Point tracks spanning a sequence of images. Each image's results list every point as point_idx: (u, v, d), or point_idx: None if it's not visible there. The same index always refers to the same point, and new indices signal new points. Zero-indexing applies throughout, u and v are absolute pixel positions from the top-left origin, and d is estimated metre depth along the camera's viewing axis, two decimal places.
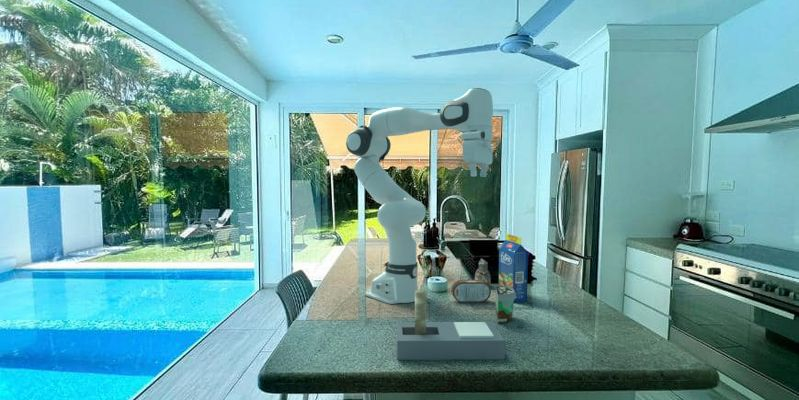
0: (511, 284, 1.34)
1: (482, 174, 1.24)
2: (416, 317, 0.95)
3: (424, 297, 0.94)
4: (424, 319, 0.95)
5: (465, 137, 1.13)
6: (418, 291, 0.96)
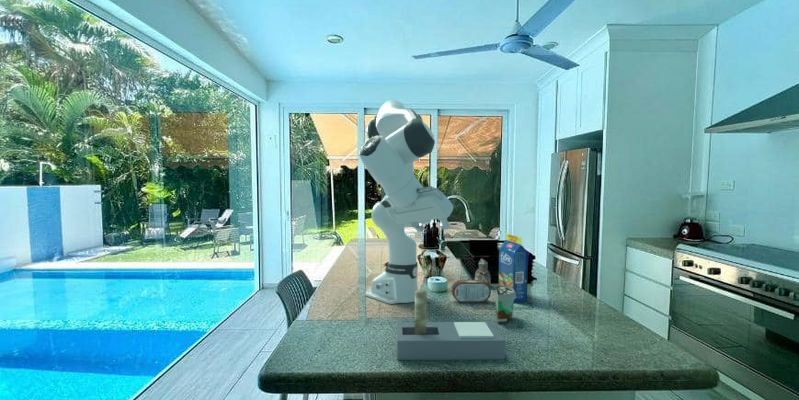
0: (511, 284, 1.34)
1: None
2: (416, 317, 0.95)
3: (424, 297, 0.94)
4: (424, 319, 0.95)
5: None
6: (418, 291, 0.96)
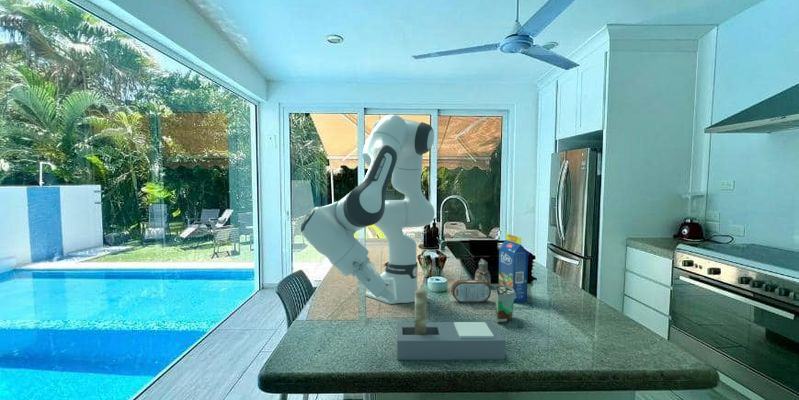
0: (511, 284, 1.34)
1: None
2: (416, 317, 0.95)
3: (424, 297, 0.94)
4: (424, 319, 0.95)
5: None
6: (418, 291, 0.96)
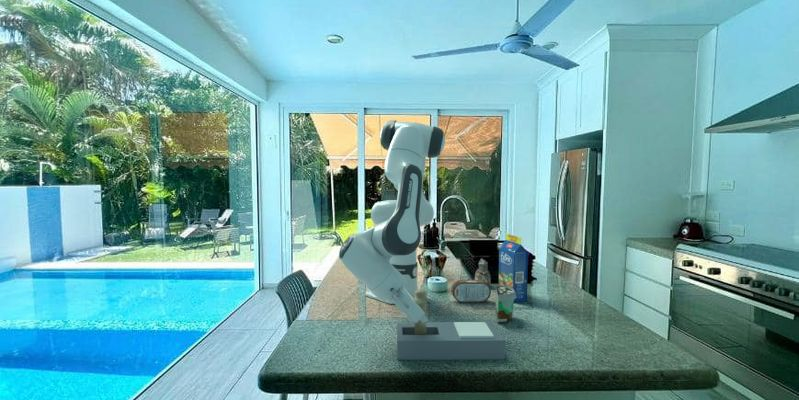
0: (511, 284, 1.34)
1: None
2: None
3: (424, 297, 0.94)
4: None
5: None
6: (418, 291, 0.96)
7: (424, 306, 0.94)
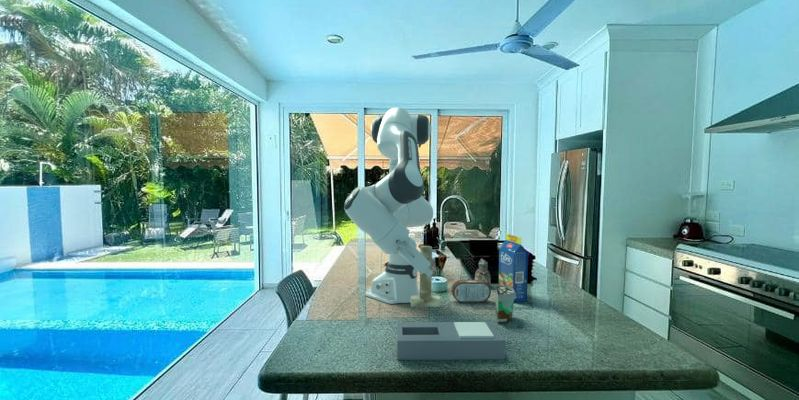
0: (511, 284, 1.34)
1: None
2: None
3: (429, 252, 0.94)
4: None
5: None
6: (423, 246, 0.95)
7: (429, 261, 0.94)
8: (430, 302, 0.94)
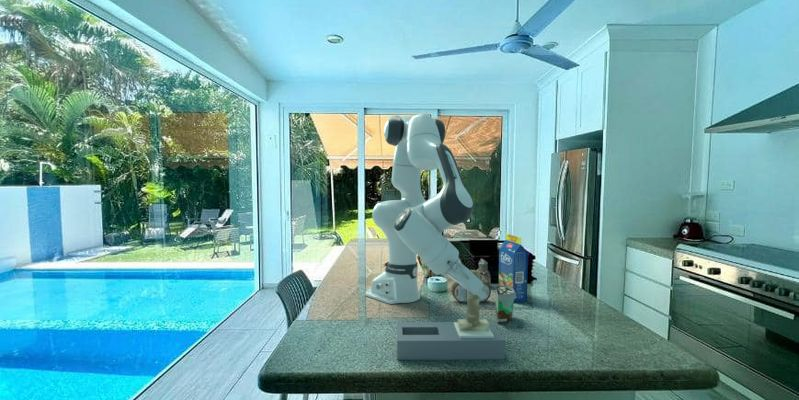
0: (511, 284, 1.34)
1: None
2: (470, 296, 0.95)
3: (478, 277, 0.94)
4: (477, 298, 0.95)
5: None
6: (471, 271, 0.96)
7: None
8: (478, 326, 0.95)
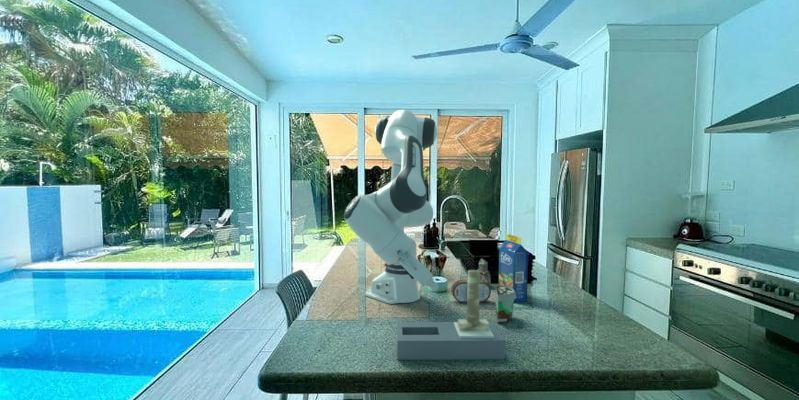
0: (511, 284, 1.34)
1: None
2: (470, 296, 0.95)
3: (478, 277, 0.94)
4: (477, 298, 0.95)
5: None
6: (471, 271, 0.96)
7: (478, 285, 0.94)
8: (478, 326, 0.95)
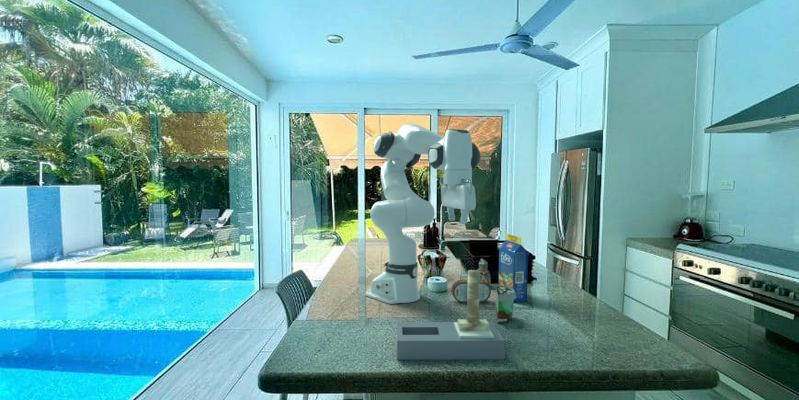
0: (511, 284, 1.34)
1: None
2: (470, 296, 0.95)
3: (478, 277, 0.94)
4: (477, 298, 0.95)
5: None
6: (471, 271, 0.96)
7: (478, 285, 0.94)
8: (478, 326, 0.95)
